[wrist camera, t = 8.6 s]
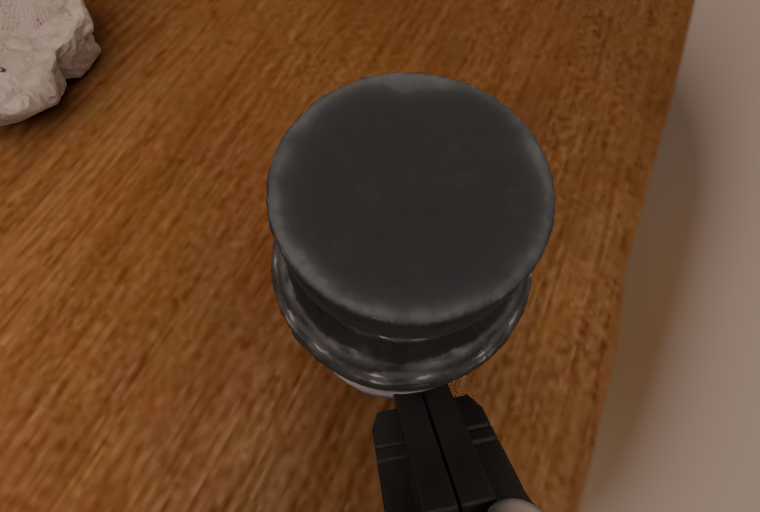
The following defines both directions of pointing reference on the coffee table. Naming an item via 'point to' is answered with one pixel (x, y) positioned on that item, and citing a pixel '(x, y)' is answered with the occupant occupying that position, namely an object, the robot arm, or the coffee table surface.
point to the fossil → (41, 53)
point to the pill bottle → (406, 229)
